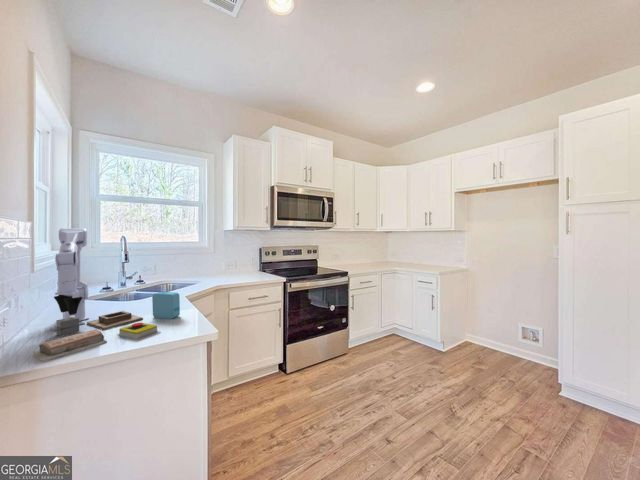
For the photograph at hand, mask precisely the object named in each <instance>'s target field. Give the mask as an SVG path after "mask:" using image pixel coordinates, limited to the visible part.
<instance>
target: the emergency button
mask: <svg viewBox="0 0 640 480" xmlns="http://www.w3.org/2000/svg"><path fill="white" fill-rule="evenodd" d="M161 333H162V331H159V330H158V325H156V324H151V323H146V322H134V323H133V324H132V323H131V324H130V325H127V326H124V327H123V326H122V327H120V328H119V333H117V334H116V336H117V337H118V336H119V337H123V338H127V339H131V340H136V341H142V340H145V339H147V338H151V337H153V336H156V335H159V334H161Z"/></svg>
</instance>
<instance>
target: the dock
mask: <svg viewBox="0 0 640 480" xmlns="http://www.w3.org/2000/svg"><path fill="white" fill-rule="evenodd" d="M139 320H140V321H143V320H144V317H142V316H138V315H134V314H132V312H129V311H126V310H125V311H124V310H121V311H120V310H119V311H117V312H113V313H112V312H111V313H107V314H104V315H99V316H98V318H97V319H94V320H89V321H86V325H88V326H92V327H94V328H97V329H100V330H103V331H106V330H109V329H113V328H116V327H119V326H120V327H121V326H124V325H128V324H132V323H136V322H140V321H139ZM135 321H136V322H135Z"/></svg>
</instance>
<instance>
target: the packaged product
mask: <svg viewBox="0 0 640 480" xmlns="http://www.w3.org/2000/svg"><path fill="white" fill-rule="evenodd" d="M107 343H108V341H107V340H105V336H104V335H103V333H102V331H101V330H97V329H92V330H88V331H84V332H80V333H79V332H78V333H74V334H70V335H67V336H63V337H60V338H56V339H52V340H48V341H45V342H42V343H40V344H39V345H38V346H39V347H38V348H39V350H37V351H35V350H34V351H32V357H34V356H35V357H34V358H36V359H37V360H39V361H41V362H42V363H43V362H48V361H52V360H53V359H58V358H60V357H64V356H68V355H71V354H73V353H74V354H75V353H77V352H81V351H84V350H87V349H90V348H93V347H94V348H95V347H97V346H100V345H104V344H107Z"/></svg>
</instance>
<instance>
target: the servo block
mask: <svg viewBox="0 0 640 480" xmlns="http://www.w3.org/2000/svg"><path fill="white" fill-rule="evenodd" d="M55 324H56V325H55V326H56V327H52V328H49V330H50V331H51V332H53V333H55V332H56V335H57V336H59V337H66V336H70V335H73V334H77V333H79V332H80V326H83V325H86V323H85V322H83V321H79V318H78V317H75V316H70V317H69V318H65V319H63V318H61V319H58V320H56V323H55Z"/></svg>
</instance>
